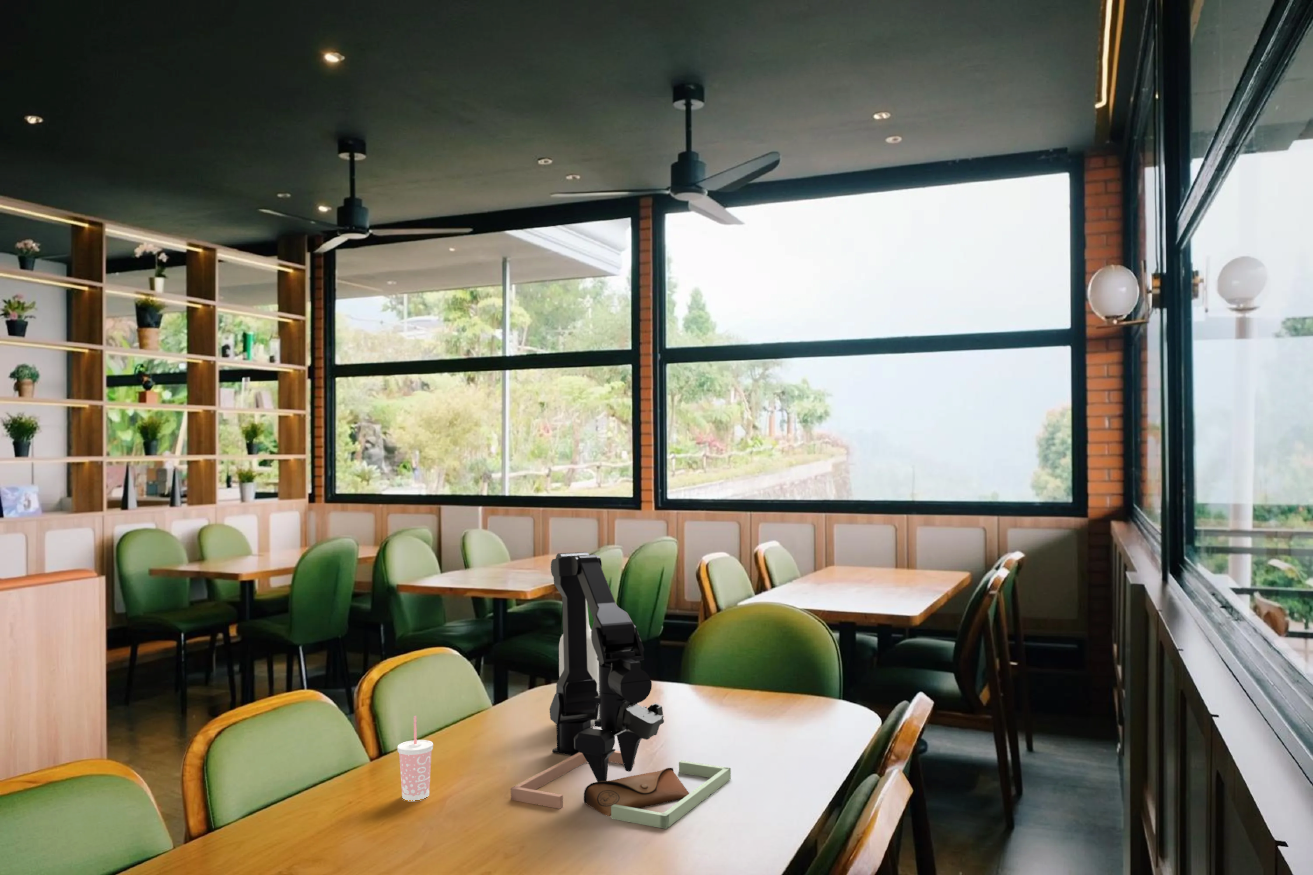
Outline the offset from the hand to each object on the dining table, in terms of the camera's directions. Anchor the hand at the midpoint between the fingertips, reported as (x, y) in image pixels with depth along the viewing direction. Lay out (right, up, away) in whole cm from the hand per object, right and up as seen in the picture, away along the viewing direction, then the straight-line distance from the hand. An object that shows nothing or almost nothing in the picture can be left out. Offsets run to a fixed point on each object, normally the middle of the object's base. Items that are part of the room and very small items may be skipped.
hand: (615, 778), depth 170 cm
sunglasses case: (+4, -2, -6) cm, 8 cm away
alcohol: (-10, -3, +42) cm, 44 cm away
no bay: (-7, -2, +4) cm, 9 cm away
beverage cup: (-35, -2, -3) cm, 35 cm away
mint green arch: (+10, -1, -5) cm, 12 cm away
